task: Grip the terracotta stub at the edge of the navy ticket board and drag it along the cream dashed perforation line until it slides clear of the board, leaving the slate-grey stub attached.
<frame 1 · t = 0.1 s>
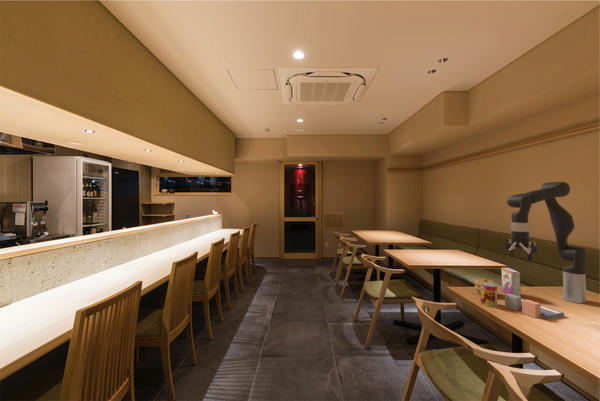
hand: (520, 258, 138), 29 cm above the table, fingers open, 8 cm apart
canned food: (489, 304, 146), on the table
candy bar box: (510, 295, 160), on the table
stub grey: (513, 301, 140), point 4 cm above the table, slide at 0.0 cm
ticket slab: (533, 309, 138), on the table
stub terracotta: (531, 308, 132), point 4 cm above the table, slide at 0.0 cm
pot: (485, 294, 162), on the table
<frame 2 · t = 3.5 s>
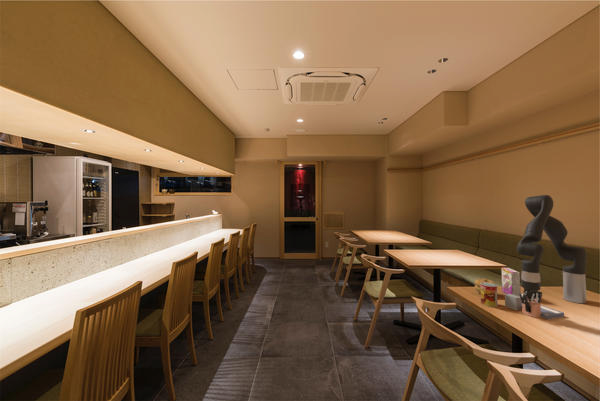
hand: (531, 311, 132), 2 cm above the table, fingers closed on stub terracotta, 4 cm apart
stub terracotta: (531, 308, 132), point 4 cm above the table, slide at 0.0 cm, touching gripper
everything else where it was.
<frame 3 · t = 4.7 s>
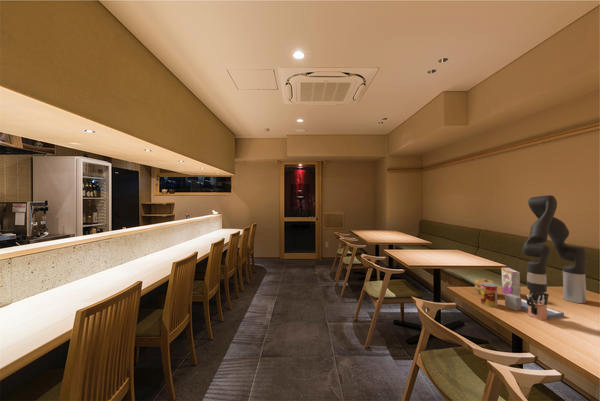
hand: (537, 313, 129), 2 cm above the table, fingers closed on stub terracotta, 4 cm apart
stub terracotta: (537, 310, 129), point 4 cm above the table, slide at 2.7 cm, touching gripper
everything else where it was.
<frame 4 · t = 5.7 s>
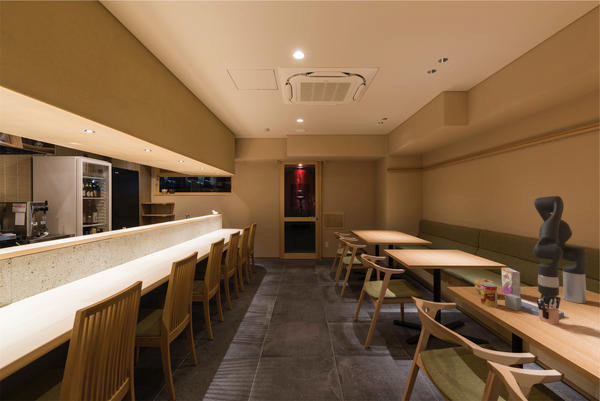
hand: (548, 317, 124), 2 cm above the table, fingers closed on stub terracotta, 4 cm apart
stub terracotta: (548, 314, 124), point 4 cm above the table, slide at 7.6 cm, touching gripper
everything else where it was.
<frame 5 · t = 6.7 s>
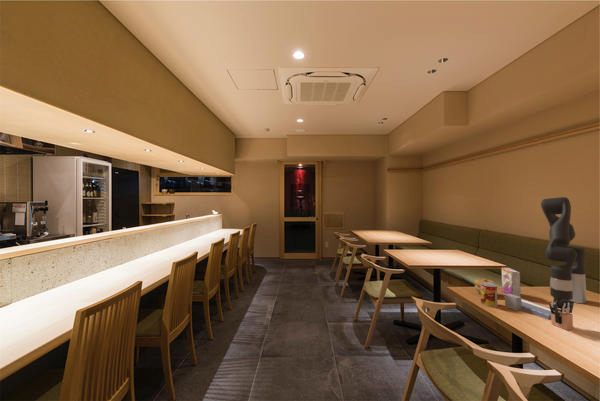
hand: (561, 322, 119), 2 cm above the table, fingers closed on stub terracotta, 4 cm apart
stub terracotta: (561, 319, 119), point 4 cm above the table, slide at 12.7 cm, touching gripper
everything else where it was.
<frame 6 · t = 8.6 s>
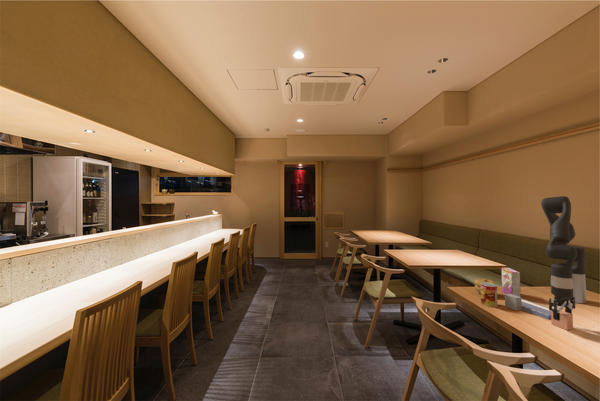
hand: (562, 318, 119), 4 cm above the table, fingers open, 8 cm apart
stub terracotta: (561, 319, 119), point 4 cm above the table, slide at 12.8 cm
everything else where it was.
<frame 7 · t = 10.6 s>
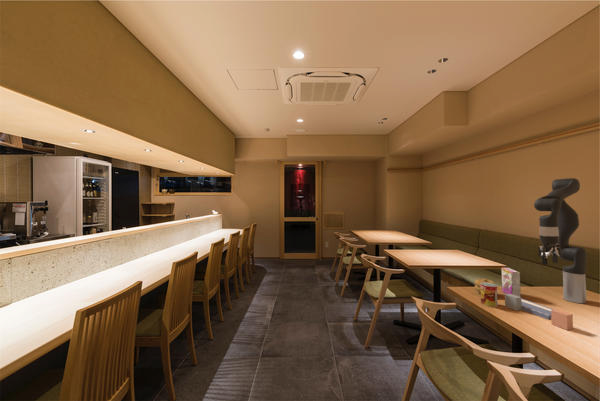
hand: (550, 263, 135), 27 cm above the table, fingers open, 8 cm apart
nothing on the table moved.
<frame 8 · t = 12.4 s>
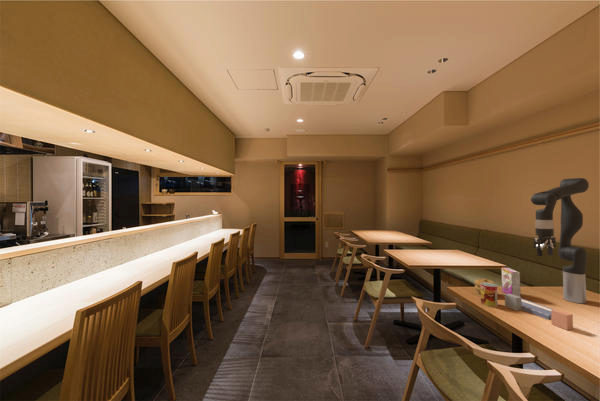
hand: (545, 255, 140), 30 cm above the table, fingers open, 8 cm apart
nothing on the table moved.
at the end: stub terracotta slide at 12.8 cm; stub grey slide at 0.0 cm; the gripper is holding nothing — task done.
